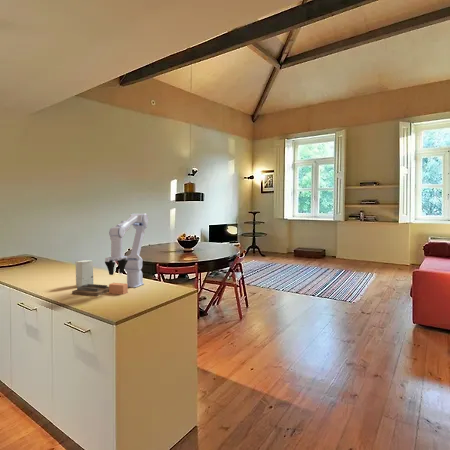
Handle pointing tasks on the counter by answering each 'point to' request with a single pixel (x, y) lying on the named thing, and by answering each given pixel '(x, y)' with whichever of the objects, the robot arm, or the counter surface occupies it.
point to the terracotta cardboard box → (118, 288)
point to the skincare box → (84, 272)
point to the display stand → (91, 289)
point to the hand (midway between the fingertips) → (116, 273)
